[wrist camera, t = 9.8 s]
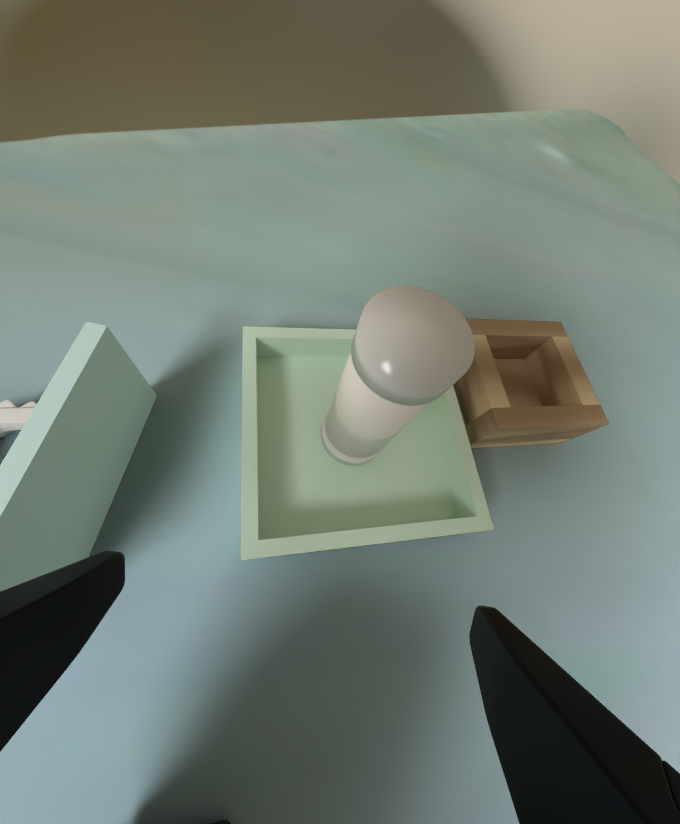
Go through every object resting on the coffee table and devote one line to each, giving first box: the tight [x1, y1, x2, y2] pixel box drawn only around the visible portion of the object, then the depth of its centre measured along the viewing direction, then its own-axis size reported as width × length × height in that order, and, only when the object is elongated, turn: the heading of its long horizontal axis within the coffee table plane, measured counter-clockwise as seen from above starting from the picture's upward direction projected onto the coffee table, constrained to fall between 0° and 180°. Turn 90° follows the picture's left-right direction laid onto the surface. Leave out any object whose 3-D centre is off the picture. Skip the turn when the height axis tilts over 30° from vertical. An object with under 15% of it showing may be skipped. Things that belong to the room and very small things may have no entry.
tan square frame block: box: [453, 319, 609, 448], centre depth 24 cm, size 8×8×4 cm
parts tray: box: [241, 327, 494, 560], centre depth 21 cm, size 14×14×3 cm
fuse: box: [320, 286, 475, 466], centre depth 16 cm, size 4×4×11 cm
